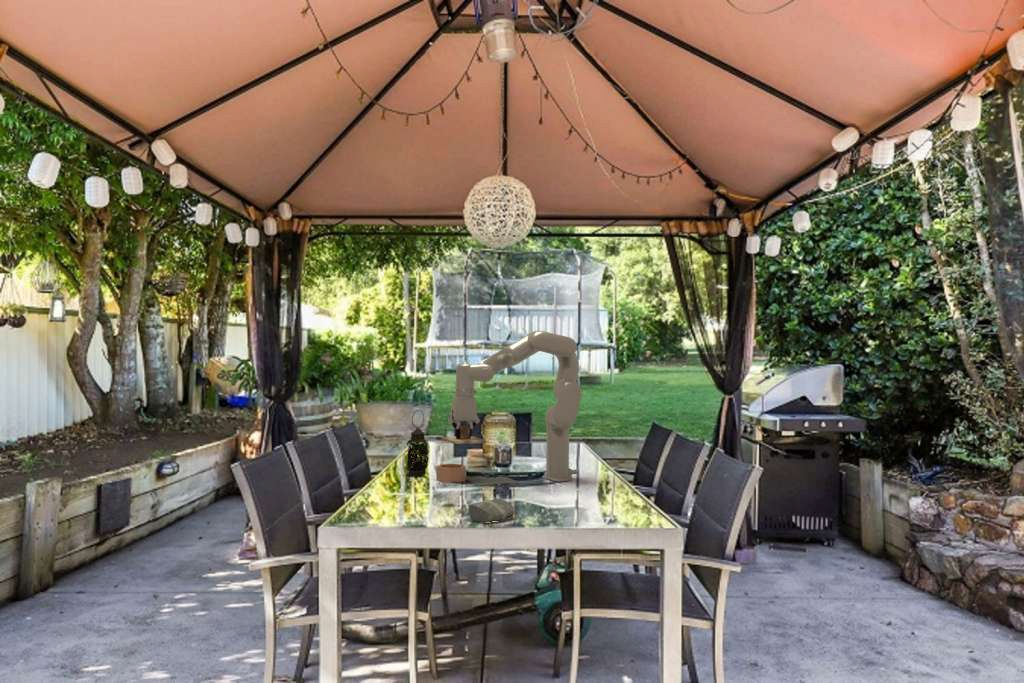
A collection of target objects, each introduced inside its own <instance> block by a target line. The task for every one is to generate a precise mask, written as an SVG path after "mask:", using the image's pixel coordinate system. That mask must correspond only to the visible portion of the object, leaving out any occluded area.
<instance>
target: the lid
mask: <svg viewBox="0 0 1024 683" xmlns="http://www.w3.org/2000/svg"><path fill="white" fill-rule="evenodd" d="M459 429H460V439H457V438H456V437H455V436H441V439H440V440H442V441H445V442H447V443H450V444H453V445H455V444H457V445H459V444H463V445H464V444H486V440H485V439H482V438H480V437H477V436H473V435H472V436H471V439H470V427H468V425H460V426H459Z"/></svg>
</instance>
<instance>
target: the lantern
mask: <svg viewBox="0 0 1024 683" xmlns="http://www.w3.org/2000/svg"><path fill="white" fill-rule="evenodd" d="M416 412H421V414H422V415H423V416H422V417H423V418H422V419H423V420H422V424H421V425H420V426H415V425H414V424H415V423H414V421H413V417H414V415H415V414H416ZM424 421H425V415H424V412H423V411H422V410H420V409H417V410H415V411H414V412H413V414H412V416H411V423H412V425H413V427H414V428H415V430H413V431H412V432H410V435H411V436H410V438H409V439H408V440H407V442H406V445H407V447H408V448H407V455H406V456H407V460H406V470H407V471H408V476H409V477H413V478H416V477H417V478H421V477H425V475H427V471H426V470H427V467H428V465H429V464H428V463H429V459H430V458H429V456H428V455H429V450H428V443H427V442H428V440H427V439H426V438H425V435H426V433H425V432H424V431H422V430H421V429H420V427H422V426H423V424H424V423H425V422H424Z"/></svg>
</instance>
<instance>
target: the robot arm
mask: <svg viewBox="0 0 1024 683" xmlns="http://www.w3.org/2000/svg"><path fill="white" fill-rule="evenodd" d="M577 348H578V345H577V342H576V341H575V339H573V338H572V337H570V336H565V335H562V334H557V333H552V332H549V331H544V330H535V331H531V332H529V333H527V334H526V335H524V336H523V337H521V338H520V339H518V340H516V341H514V342H513V343H511V344H509V345H507V346H505V347H503V348H502V349H501V350H499V351H497V352H496V353H493V354H492V355H490V356H488V357H486V358H485V359H483V360H481V361H480V362H478V363H477V364H473V363H458V364H456V368H455V373H456V374H455V394H454V395H455V396H453V397H452V400H451V407H450V408H451V409H450V416H449V417H448V418H447V422H448V424H450V425H451V426H452V427H453V428H454V429H455V430H454V437H456V438H457V439H460V429H459V426H461V422H462V423H463V422H464V423H465V422H466V424H467V426H468V427H470V439H471V436H473V435H472V434H473V432H472V431H473V429H474V427H475V426H476V425H478V424H479V423H480V421H481V420H480V418H479V415H477V413H478V410H477V401H476V397H475V395H477V394H478V392H477V390H475V382H480V383H488V382H490V381H492V380H493V378H494V376H495V374H497V373H499V372H500V371H503V370H504V369H507V368H511V367H514V366H516V365H518V364H520V363H522V362H524V361H525V360H527V359H528V358H530V357H531V356H533V355H535V354H537V353H538V352H542V353H547V354H551V355H555V357H556V359H557V362H558V368H557V374H556V378H555V382H554V387H553V391H552V392H553V393H552V394H553V396H554V398H555V399H556V400H557V402H556V403H555V404H552V405H550V406H549V407H548V409H547V410H546V413H545V427H546V451H545V452H546V456H545V457H546V458H545V459H546V464H545V473H546V474H543V475H542V479H543V480H546V481H549V482H553V483H554V482H555V483H556V482H557V483H560V482H562V483H563V482H570V481H572V480H573V476H572V475H579V474H580V470H579V469H574V468H573V469H572V468H570V430H569V429H570V428H572V427H573V426H574V425H575V423H576V420H577V417H578V413H579V409H580V408H579V407H580V404H581V401H582V400H581V399H582V388H581V385H580V384H579V383H578V382H577V380H578V374H579V367H580V362H579V358H578V355H577Z"/></svg>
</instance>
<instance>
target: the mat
mask: <svg viewBox="0 0 1024 683" xmlns="http://www.w3.org/2000/svg"><path fill="white" fill-rule="evenodd" d="M482 476H483V475H481V476H466V480H467V481H468V482H470V483H473V484H475V485H477V486H485V485H487V486H488V485H500V484H501V485H503V484H516V483H519V481H518V480H515V479H513V478H510V477H509V476H506V477H496V478H486V477H482ZM466 480H465V481H466Z"/></svg>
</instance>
